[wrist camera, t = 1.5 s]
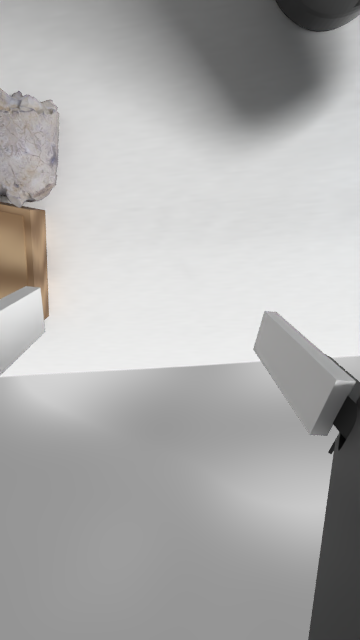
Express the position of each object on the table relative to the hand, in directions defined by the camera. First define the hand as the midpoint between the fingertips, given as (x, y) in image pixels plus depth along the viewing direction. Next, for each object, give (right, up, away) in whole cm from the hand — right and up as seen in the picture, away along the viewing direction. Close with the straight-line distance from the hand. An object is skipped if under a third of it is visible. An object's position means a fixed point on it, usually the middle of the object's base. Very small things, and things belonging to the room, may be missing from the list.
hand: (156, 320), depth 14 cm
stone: (-17, +21, +16) cm, 32 cm away
